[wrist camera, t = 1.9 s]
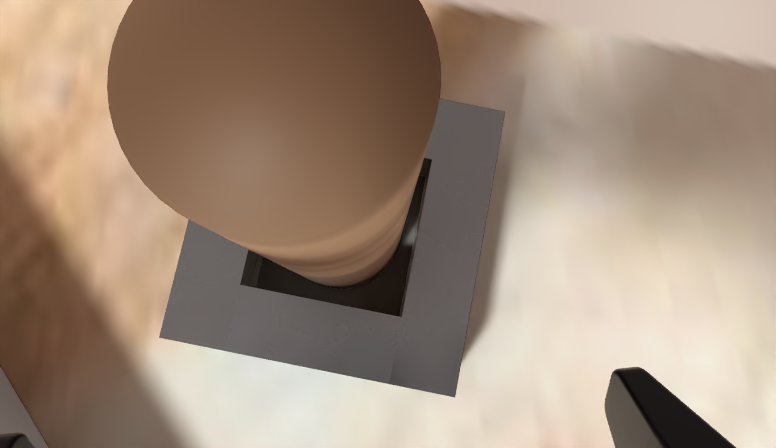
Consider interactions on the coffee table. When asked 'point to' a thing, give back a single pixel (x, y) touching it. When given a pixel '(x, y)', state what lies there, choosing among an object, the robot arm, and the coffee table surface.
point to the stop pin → (281, 122)
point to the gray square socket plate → (348, 324)
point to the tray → (16, 414)
